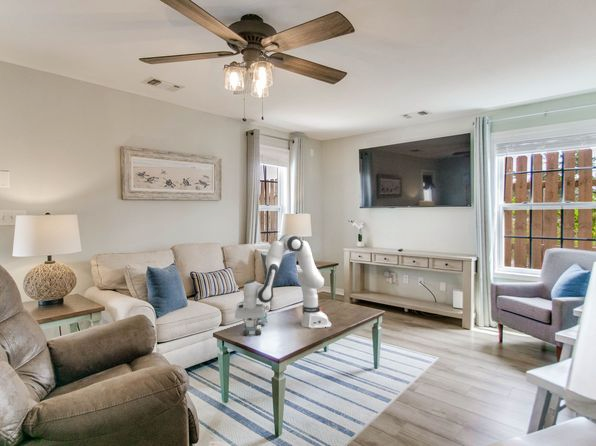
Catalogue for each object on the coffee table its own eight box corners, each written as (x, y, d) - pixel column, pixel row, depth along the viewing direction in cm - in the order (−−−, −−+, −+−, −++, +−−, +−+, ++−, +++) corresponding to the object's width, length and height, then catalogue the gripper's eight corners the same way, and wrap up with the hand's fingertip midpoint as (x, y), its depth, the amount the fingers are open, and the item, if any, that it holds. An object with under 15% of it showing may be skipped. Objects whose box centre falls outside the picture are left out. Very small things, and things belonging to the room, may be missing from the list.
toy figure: (266, 329, 237) (266, 308, 237) (251, 328, 239) (251, 307, 239) (272, 322, 253) (272, 302, 253) (259, 321, 255) (259, 302, 255)
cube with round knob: (254, 326, 233) (254, 316, 233) (253, 329, 228) (253, 319, 228) (246, 326, 232) (246, 316, 232) (246, 329, 227) (246, 319, 227)
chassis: (261, 330, 236) (261, 323, 236) (261, 335, 225) (261, 329, 225) (244, 330, 236) (244, 323, 235) (243, 336, 224) (243, 329, 224)
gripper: (265, 302, 234) (265, 322, 234) (235, 303, 232) (235, 323, 233) (265, 305, 227) (265, 325, 228) (234, 305, 226) (234, 326, 226)
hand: (250, 324), depth 230 cm, fingers closed on cube with round knob, 5 cm apart
